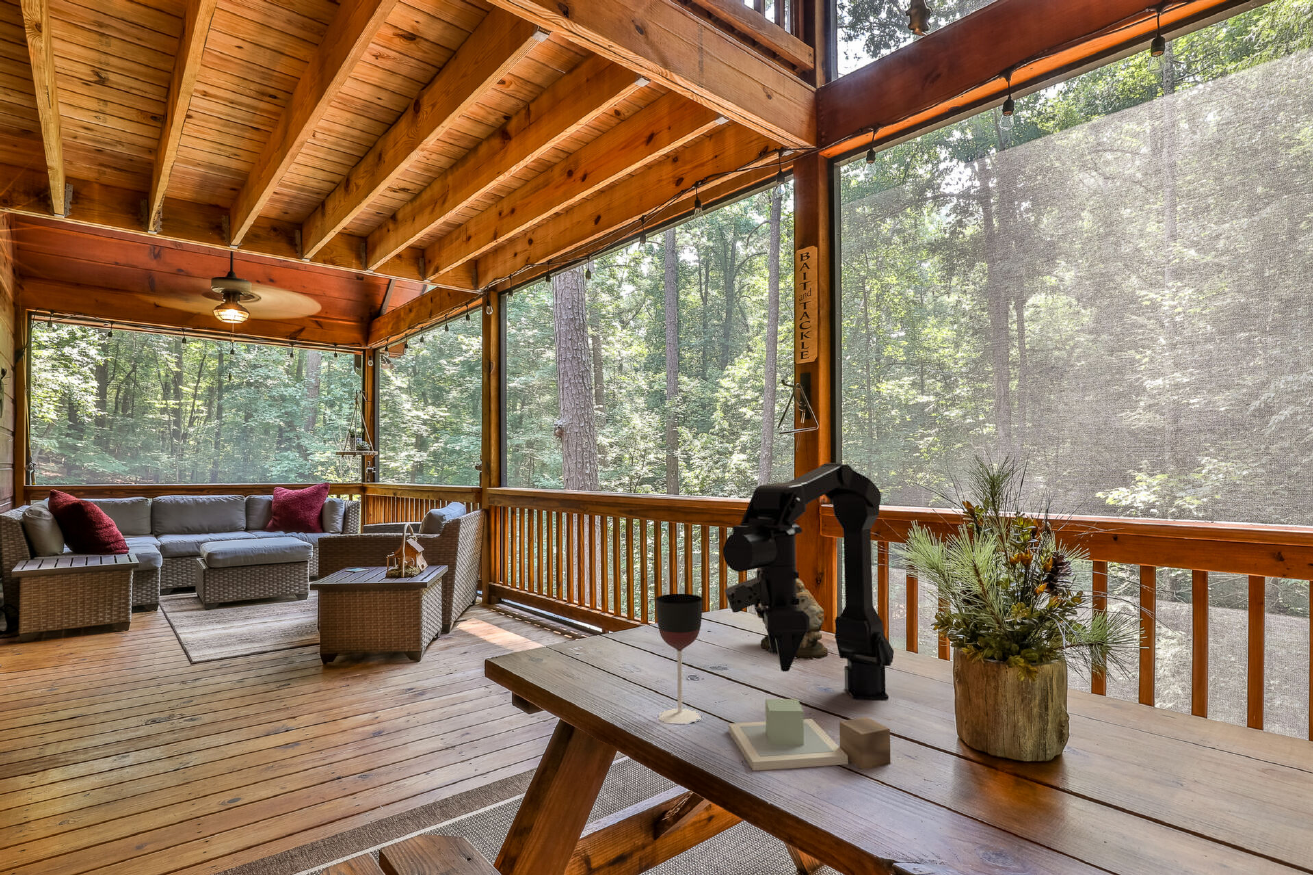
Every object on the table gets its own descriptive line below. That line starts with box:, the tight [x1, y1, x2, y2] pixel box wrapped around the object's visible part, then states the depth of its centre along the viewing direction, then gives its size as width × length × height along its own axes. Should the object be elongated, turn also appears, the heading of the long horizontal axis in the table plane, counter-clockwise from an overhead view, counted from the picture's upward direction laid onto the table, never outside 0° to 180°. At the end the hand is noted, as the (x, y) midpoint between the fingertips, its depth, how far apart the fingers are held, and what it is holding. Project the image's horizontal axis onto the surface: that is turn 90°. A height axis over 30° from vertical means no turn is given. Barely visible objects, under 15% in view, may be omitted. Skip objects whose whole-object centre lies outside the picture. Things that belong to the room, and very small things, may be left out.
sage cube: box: [764, 698, 804, 745], centre depth 101 cm, size 5×5×5 cm
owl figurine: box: [757, 578, 829, 659], centre depth 155 cm, size 18×12×17 cm, turn 45°
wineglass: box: [655, 593, 703, 724], centre depth 114 cm, size 8×9×20 cm
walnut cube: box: [838, 716, 892, 771], centre depth 97 cm, size 5×5×5 cm
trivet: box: [728, 718, 849, 772], centre depth 101 cm, size 14×14×1 cm
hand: (780, 661), depth 106 cm, fingers open, 9 cm apart
